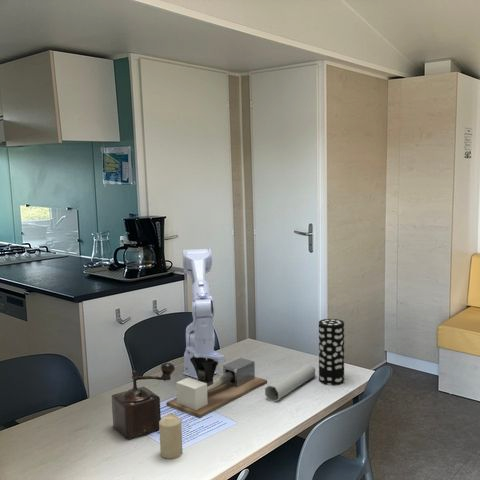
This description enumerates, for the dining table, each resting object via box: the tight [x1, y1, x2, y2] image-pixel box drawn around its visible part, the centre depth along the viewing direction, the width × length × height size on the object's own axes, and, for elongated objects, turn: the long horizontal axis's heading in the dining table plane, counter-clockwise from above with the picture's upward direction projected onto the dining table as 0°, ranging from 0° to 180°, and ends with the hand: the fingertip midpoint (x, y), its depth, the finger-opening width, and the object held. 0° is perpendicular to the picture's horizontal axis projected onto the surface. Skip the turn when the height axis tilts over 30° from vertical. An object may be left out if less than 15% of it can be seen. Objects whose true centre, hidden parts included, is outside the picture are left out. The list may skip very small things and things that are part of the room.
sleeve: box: [222, 357, 256, 387], centre depth 182 cm, size 6×9×6 cm, turn 140°
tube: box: [264, 363, 316, 403], centre depth 178 cm, size 5×5×25 cm
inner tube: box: [197, 367, 235, 392], centre depth 172 cm, size 3×19×8 cm, turn 140°
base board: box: [166, 376, 268, 419], centre depth 175 cm, size 14×32×1 cm, turn 140°
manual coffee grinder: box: [111, 362, 176, 441], centre depth 154 cm, size 16×11×18 cm
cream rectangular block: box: [175, 377, 208, 410], centre depth 165 cm, size 8×5×6 cm, turn 50°
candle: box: [158, 412, 183, 460], centre depth 139 cm, size 6×6×10 cm
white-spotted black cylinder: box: [318, 318, 345, 386], centre depth 182 cm, size 8×8×20 cm
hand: (205, 380), depth 170 cm, fingers closed on inner tube, 3 cm apart
